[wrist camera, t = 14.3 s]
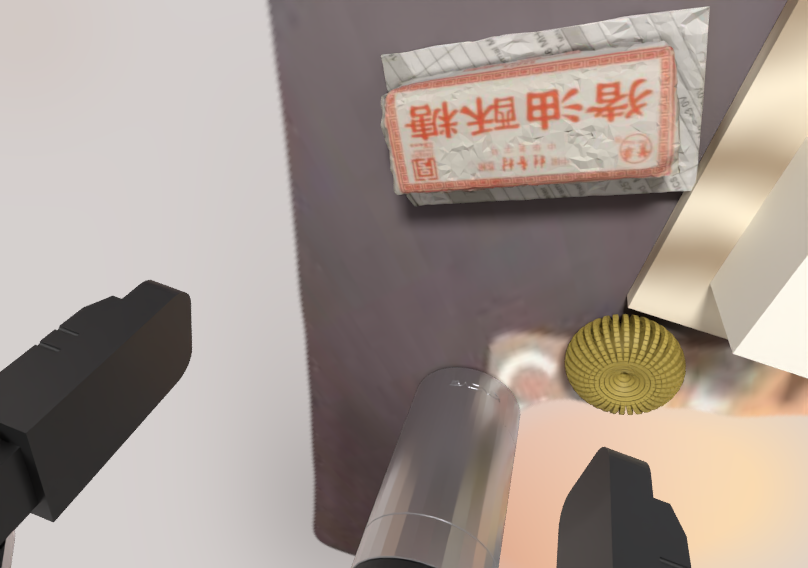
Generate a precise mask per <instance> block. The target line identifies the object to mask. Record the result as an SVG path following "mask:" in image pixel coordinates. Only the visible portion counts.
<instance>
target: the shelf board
mask: <svg viewBox="0 0 808 568" xmlns="http://www.w3.org/2000/svg"><path fill="white" fill-rule="evenodd" d="M807 136H808V0H788V1H787V3H786V5H785V6H784V8H783V10H782V12H781V14H780V16H779V17H778V19H777V21H776V23H775V25H774V27H773V28H772V30H771V32H770V34H769V36H768V38H767V39H766V41H765V43H764V45H763V47H762V49H761V50H760V52H759V54H758V56H757V58H756V60H755V61H754V63H753V65H752V67H751V69H750V71H749V72H748V74H747V76H746V78H745V80H744V82H743V83H742V85H741V87H740V89H739V91H738V93H737V94H736V96H735V98H734V100H733V102H732V104H731V105H730V107H729V109H728V111H727V113H726V115H725V116H724V118H723V120H722V122H721V124H720V126H719V127H718V129H717V131H716V133H715V135H714V137H713V139H712V140H711V142H710V144H709V146H708V148H707V150H706V151H705V153H704V155H703V157H702V159H701V161H700V162H699V164H698V168H697V177H696V182H695V184H694V186H693V188H692V190H691V191H684V192H683V194H682V195H681V197H680V199H679V201H678V203H677V205H676V206H675V208H674V210H673V212H672V214H671V216H670V217H669V219H668V221H667V223H666V225H665V227H664V228H663V230H662V232H661V234H660V236H659V238H658V239H657V241H656V243H655V245H654V247H653V249H652V250H651V252H650V254H649V256H648V258H647V260H646V261H645V263H644V265H643V267H642V269H641V271H640V273H639V274H638V276H637V278H636V280H635V282H634V284H633V285H632V287H631V289H630V291H629V293H628V295H627V301H628V308H631V309H634V310H637V311H640V312H643V313H646V314H649V315H653V316H656V317H659V318H662V319H665V320H668V321H671V322H675V323H678V324H681V325H684V326H687V327H690V328H693V329H697V330H700V331H703V332H706V333H709V334H712V335H716V336H719V337H722V338H725V339H728V338H727V335H726V331H725V328H724V325H723V322H722V319H721V316H720V313H719V310H718V307H717V303H716V300H715V297H714V294H713V291H712V288H711V285H710V283H711V281H712V280H713V278H714V277H715V275H716V274H717V272H718V271H719V269H720V268H721V266H722V265H723V263H724V262H725V260H726V259H727V257H728V255H729V254H730V252H731V251H732V249H733V248H734V246H735V245H736V243H737V242H738V240H739V239H740V237H741V236H742V234H743V233H744V231H745V230H746V228H747V227H748V225H749V224H750V222H751V221H752V219H753V218H754V216H755V215H756V213H757V212H758V210H759V209H760V207H761V205H762V204H763V202H764V201H765V199H766V198H767V196H768V195H769V193H770V192H771V190H772V189H773V187H774V186H775V184H776V183H777V181H778V180H779V178H780V177H781V175H782V174H783V172H784V171H785V169H786V168H787V166H788V165H789V163H790V162H791V160H792V159H793V157H794V155H795V154H796V152H797V151H798V149H799V148H800V146H801V145H802V143H803V142H804V140H805V139H806V137H807Z"/></svg>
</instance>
